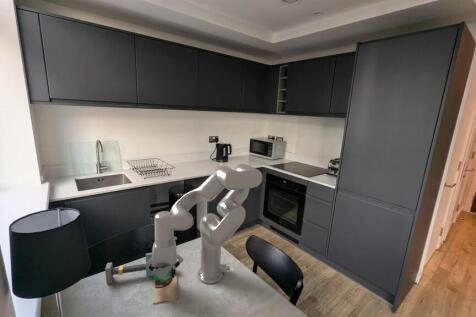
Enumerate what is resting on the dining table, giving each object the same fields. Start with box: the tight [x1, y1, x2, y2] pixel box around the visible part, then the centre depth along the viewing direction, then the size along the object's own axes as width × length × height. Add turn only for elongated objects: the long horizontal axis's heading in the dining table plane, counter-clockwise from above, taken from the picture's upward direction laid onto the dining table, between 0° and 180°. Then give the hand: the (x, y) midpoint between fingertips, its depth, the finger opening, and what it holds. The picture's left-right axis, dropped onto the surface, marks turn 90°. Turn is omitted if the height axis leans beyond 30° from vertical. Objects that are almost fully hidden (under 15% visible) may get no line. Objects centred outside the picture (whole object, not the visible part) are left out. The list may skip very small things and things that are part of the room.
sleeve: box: [145, 252, 154, 277], centre depth 110 cm, size 4×6×10 cm
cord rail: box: [104, 262, 146, 285], centre depth 109 cm, size 29×4×8 cm, turn 107°
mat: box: [152, 276, 179, 305], centre depth 102 cm, size 10×13×1 cm
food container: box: [153, 265, 173, 288], centre depth 100 cm, size 12×6×10 cm, turn 171°
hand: (164, 276), depth 101 cm, fingers closed on food container, 6 cm apart
